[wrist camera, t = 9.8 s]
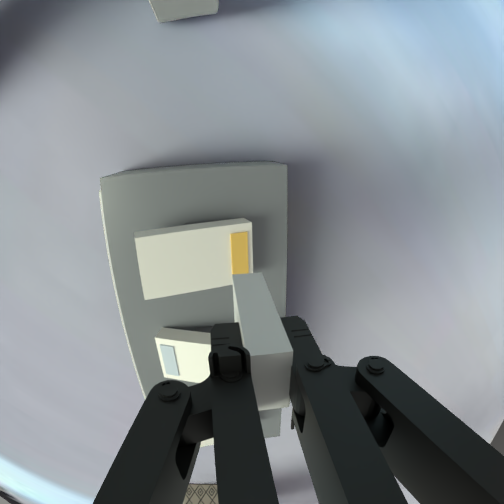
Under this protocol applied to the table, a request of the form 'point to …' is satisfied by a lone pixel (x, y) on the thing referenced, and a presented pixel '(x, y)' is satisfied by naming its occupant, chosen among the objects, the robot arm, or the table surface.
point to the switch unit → (184, 213)
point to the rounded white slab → (182, 9)
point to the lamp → (201, 494)
